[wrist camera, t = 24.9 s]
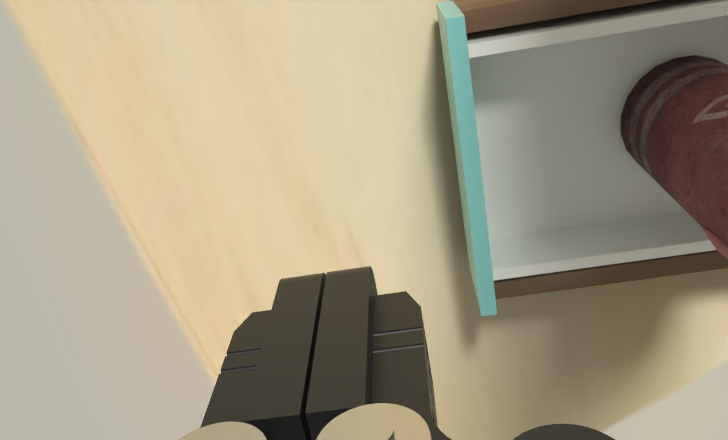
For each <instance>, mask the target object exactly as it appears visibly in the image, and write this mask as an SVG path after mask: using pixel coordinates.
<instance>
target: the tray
mask: <svg viewBox="0 0 728 440" xmlns="http://www.w3.org/2000/svg"><path fill="white" fill-rule="evenodd" d="M436 5H437V13H438V21H439V29H440V37H441V45H442V53H443V61H444V69H445V77H446V85H447V93H448V101H449V109H450V117H451V125H452V133H453V141H454V149H455V157H456V165H457V173H458V181H459V189H460V197H461V205H462V213H463V221H464V229H465V237H466V245H467V253H468V261H469V268H470V272H471V276H472V280H473V284H474V288H475V292H476V297H477V301H478V305H479V309H480V313H481V317H482V316H490V315H497V308H496V299H495V289H494V280H501V279H508V278H516V277H523V276H530V275H538V274H545V273H552V272H559V271H567V270H574V269H581V268H589V267H596V266H603V265H610V264H618V263H625V262H632V261H640V260H647V259H654V258H662V257H669V256H676V255H683V254H691V253H698V252H705V251H713V250H716V248H715V247H714V245H713V244H712V243H711V241H710V240H709V238H708V237H707V235H706V234H705V232H704V231H703V228H702V227H701V226H700V225H699V224H698V223H697V222H696V221H695V220H694V219H693V218H692V217H691V216H690V215H689V214H688V213H687V212H686V211H685V210H684V209H683V208H682V207H681V206H680V205H679V204H678V203H677V202H676V201H675V200H674V199H673V198H672V197H671V196H670V195H669V194H668V193H667V192H666V191H665V190H664V189H663V188H662V187H661V186H660V185H659V184H658V183H657V182H656V181H655V180H654V179H653V178H652V177H651V176H650V175H649V174H648V173H647V172H646V171H645V170H644V169H643V168H642V167H641V166H640V165H639V164H638V163H637V162H636V161H635V160H634V158H633V157H632V156H631V155H630V154H629V152H628V151H627V150H626V147H625V145H624V142H623V139H622V136H621V114H622V111H623V108H624V105H625V102H626V99H627V96H628V95H629V94H630V92H631V91H632V89H633V88H634V86H635V85H636V84H637V82H638V81H639V80H640V79H641V78H642V77H643V76H644V75H646V74H647V73H648V72H649V71H651V70H652V69H653V68H654V67H655V66H658V65H660V64H662V63H664V62H667V61H669V60H671V59H674V58H677V57H685V56H693V55H697V56H703V57H708V58H713V59H716V60H718V61H721V62H723V63H725V64H727V65H728V0H661V1H655V2H649V3H643V4H638V5H632V6H626V7H620V8H614V9H608V10H602V11H596V12H590V13H584V14H578V15H573V16H567V17H561V18H555V19H549V20H543V21H537V22H531V23H525V24H519V25H513V26H508V27H502V28H496V29H490V30H484V31H478V32H472V33H466V26H465V16H464V15H463V13H462V12H461V11H460V9H459V8H458V7H457V6H456V4H455V3H454V2H453V0H452V1H446V2H441V3H436Z"/></svg>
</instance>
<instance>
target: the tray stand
mask: <svg viewBox="0 0 728 440" xmlns="http://www.w3.org/2000/svg"><path fill="white" fill-rule="evenodd" d="M451 1H452V0H451ZM655 1H661V0H453V2H454V3H455V4H456V6H457V7H458V8H459V9H460V11H461V12H462V13H463V15H464V16H465V26H466V33H472V32H478V31H484V30H490V29H496V28H502V27H508V26H513V25H519V24H525V23H531V22H537V21H543V20H549V19H555V18H561V17H567V16H573V15H578V14H584V13H590V12H596V11H602V10H608V9H614V8H620V7H626V6H632V5H638V4H643V3H649V2H655ZM722 268H728V259H727V258H726V257H724V256H723V255H722V254H721V253H720V252H718V251H717V250H713V251H705V252H698V253H691V254H683V255H676V256H669V257H662V258H654V259H647V260H640V261H632V262H625V263H618V264H610V265H603V266H596V267H589V268H581V269H574V270H567V271H559V272H552V273H545V274H538V275H530V276H523V277H516V278H508V279H501V280H494V289H495V299H499V298H506V297H514V296H521V295H529V294H536V293H543V292H551V291H558V290H566V289H573V288H581V287H588V286H595V285H603V284H610V283H618V282H625V281H633V280H640V279H647V278H655V277H662V276H670V275H677V274H684V273H692V272H699V271H707V270H714V269H722Z"/></svg>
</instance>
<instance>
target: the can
mask: <svg viewBox="0 0 728 440" xmlns="http://www.w3.org/2000/svg"><path fill="white" fill-rule="evenodd" d="M621 136H622V139H623V142H624V145H625V147H626V150H627V151H628V152H629V154H630V155H631V156H632V157H633V158H634V160H635V161H636V162H637V163H638V164H639V165H640V166H641V167H642V168H643V169H644V170H645V171H646V172H647V173H648V174H649V175H650V176H651V177H652V178H653V179H654V180H655V181H656V182H657V183H658V184H659V185H660V186H661V187H662V188H663V189H664V190H665V191H666V192H667V193H668V194H669V195H670V196H671V197H672V198H673V199H674V200H675V201H676V202H677V203H678V204H679V205H680V206H681V207H682V208H683V209H684V210H685V211H686V212H687V213H688V214H689V215H690V216H691V217H692V218H693V219H694V220H695V221H696V222H697V223H698V224H699V225H700V226H701V227H702V228H703V231H704V232H705V234H706V235H707V237H708V238H709V240H710V241H711V243H712V244H713V245H714V247H715V248H716V250H717V251H718V252H720V253H721V254H722V255H723V256H724V257H726V258H727V259H728V65H727V64H725V63H723V62H721V61H718V60H716V59H713V58H708V57H703V56H697V55H693V56H685V57H677V58H674V59H671V60H669V61H667V62H664V63H662V64H660V65H658V66H655V67H654V68H653V69H652V70H651V71H649V72H648V73H647V74H646V75H644V76H643V77H642V78H641V79H640V80H639V81H638V82H637V84H636V85H635V86H634V88H633V89H632V91H631V92H630V94H629V95H628V96H627V99H626V102H625V105H624V108H623V111H622V114H621Z"/></svg>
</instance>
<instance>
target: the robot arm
mask: <svg viewBox="0 0 728 440" xmlns="http://www.w3.org/2000/svg"><path fill="white" fill-rule="evenodd" d="M180 440H451V439H450V438H448V437H447V436H445V435H444V434H443V433H442V432H441V431H440V430H439V428H438V427H437V417H436V408H435V398H434V389H433V381H432V375H431V368H430V362H429V356H428V350H427V343H426V337H425V331H424V325H423V319H422V312H421V307H420V306H419V304H418V303H417V302H416V301H415V300H414V299H413V298H412V297H411V296H410V295H409V294H408V293H407V292H406V291H405V292H398V293H391V294H383V295H377V289H376V284H375V279H374V274H373V271H372V268H371V266H369V267H362V268H355V269H348V270H340V271H333V272H327V274H325V273H320V274H313V275H306V276H299V277H292V278H285V279H281V280H280V281H279V284H278V288H277V292H276V295H275V299H274V303H273V306H272V310H268V311H261V312H253V313H252V314H251V315H250V316H249V317H248V318H247V319H246V320H245V321H244V322H243V323H242V324H241V325H240V326H239V327H238V328H237V329H236V330H235V331H234V333H233V336H232V339H231V342H230V345H229V347H228V350H227V357H225V359H224V362H223V365H222V367H221V374H219V376H218V379H217V382H216V385H215V387H214V390H213V393H212V396H211V399H210V402H209V405H208V408H207V410H206V413H205V416H204V419H203V422H202V425H201V428H199V429H197V430H195V431H193V432H191V433H189V434H187V435H186V436H184V437H182V438H181V439H180ZM514 440H615V439H613V438H611V437H609V436H608V435H606V434H604V433H601V432H599V431H597V430H594V429H591V428H588V427H584V426H579V425H572V424H552V425H545V426H540V427H537V428H533V429H531V430H529V431H526V432H524V433H522V434H521V435H519V436H518V437H516V438H515V439H514Z"/></svg>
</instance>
